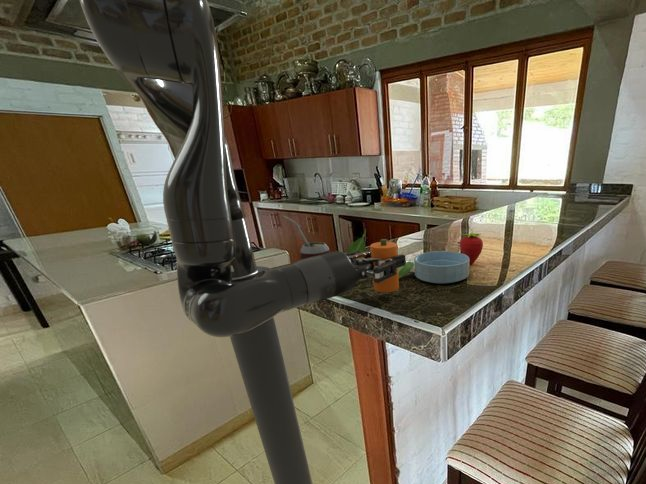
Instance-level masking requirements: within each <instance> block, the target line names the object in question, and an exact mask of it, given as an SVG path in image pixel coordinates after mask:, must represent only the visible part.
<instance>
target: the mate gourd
mask: <svg viewBox="0 0 646 484" xmlns="http://www.w3.org/2000/svg"><path fill="white" fill-rule="evenodd" d="M283 218H285V219H286V220H288V221H289V222H291V223H292V224H293V225H294V227H295V228H296V230H297V231H298V233H299V235H300V236H301V237H302V240H303V241H304V244H303V245H302V247H301V249H300V253H299V254H300V255H299V256H300V260H301V259H305V258H309V257H313V256H317V255H322V254H326V253H330V252H331V250H330V248H329V246H328V245H327V244H326V243H325V242H324V241H323V242H322V241H313V242H308V240H307V238H306V237H305V234H304V233H303V230H302V229H301V226H300V225H299V224H298V223H297V222H296V221H295V220H293V219H292V218H290V217H289V216H288V217H287V216H286V215H283Z"/></svg>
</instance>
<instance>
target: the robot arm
mask: <svg viewBox="0 0 646 484" xmlns="http://www.w3.org/2000/svg"><path fill="white" fill-rule="evenodd" d="M79 3H80V6H81V9H82V12H83V15H84V17H85V20H86V22H87V24H88V26H89V28H90V29H89V30H90V31H91V33H92V35H93V37H94V38H95V40H96V43H97V44H98V45H99V47H100V48H101V50H102V52H103V53H104V55H105V56H106V58H107V59H108V61H109V62H110V63H111V65H112V66H113V67H114V69H115V70H116V71H117V73H119V75H120V76H121V78H123V79H124V80H125V82H126V83H127V84H128V85H129V87H131V88H132V89H133V90H134V92H135V93H136V94H137V95H138V97H139V98H140V100H141V102H142V104H143V106H144V107H145V110H146V112H147V113H148V115H149V117H150V118H151V120H152V121H153V123H154V125H155V126H156V127H157V129H158V130H159V131H160V133H161V134H162V136H163V137H164V139H165V140H166V142H167V144H168V147H169V149H170V151H171V154H172V156H173V159H174V160H173V161H172V163H171V166H170V168H169V170H168V172H167V175H166V178H165V180H164V185H163V193H162V202H163V208H164V215H165V219H166V223H167V227H168V232H169V236H170V241H171V245H172V248H173V252H174V254H175V259H176V277H177V278H176V279H177V289H178V295H179V301H180V304H181V308H182V310H183V312H184V315H185V316H186V318H187V319H188V320H189V321H190V322H192V323H193V324H194V325H195V326H196V327H197V328H198V329H199V330H200V331H202V333H204V334H206V335H208V336H211V337H215V338H230V336H235V335H239V334H242V333H245V332H247V331H249V330H251V329H253V328H255V327H257V326H259V325H261V324H262V323H264V322H266V321H268V320H270V319H271V318H273V317H274V318H275V317H276V316H277V315H279V314H281V313H284V312H287V311H291V310H295V309H297V308H300V307H302V306H307V305H310V304H311V305H312V304H316V303H320V302H323V301H326V300H328V299H331V298H335V297H337V296H340V295H343V294H347V293H350V292H351V291H353V290H354V288H355V285H356V283H357V282H358V281H365V280H366V281H367V280H368V279H371V278H372V279H373V278H374V282H375V283H379V282H382V281H384V280H386V279H388V278H390V277H392V276H394V275H396V274H397V270H396V268H399V267H402V266H404V265H405V264H406V260H407V259H406V255H405V254H402V253H401V254H398V255H397V256H394V257H390V258H384V259H380V258H378V257H372V258H371V251H365V252H363V253H362V252H361V251H355V252H349V253H346V252H345V253H344V252H343V251H340V250H335V251H330V253H326V254H322V255H317V256H313V257H309V258H305V259H301V258H300V259H299V260H296V261H294V262H290V263H286V264H282V265H278V266H274V267H269V268H270V269H266V270H264V271H261V272H259V273H258V269H257V267H256V266H257V263H256V258H255V254H254V249H253V246H252V241H251V238H250V233H249V229H248V225H247V221H246V217H245V213H244V209H243V205H242V200H241V197H240V193H239V189H238V184H237V181H236V176H235V170H234V166H233V158H232V154H231V149H230V146H229V145H230V144H229V142H228V139H227V136H226V132H225V131H226V129H225V113H224V98H223V83H222V72H221V71H222V70H221V60H220V52H219V44H218V37H217V31H216V27H215V22H214V18H213V14H212V11H211V8H210V5H209V2H208V0H79ZM373 262H375V265H376V266H375V268H374V264H373ZM382 263H384V264H382ZM381 264H382V265H381ZM254 276H256V277H255V279H252V280H248V281H245V282H242V283H238V284H233V282H232V281H240V280H245V279H249V278H252V277H254ZM274 318H273V319H274Z"/></svg>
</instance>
